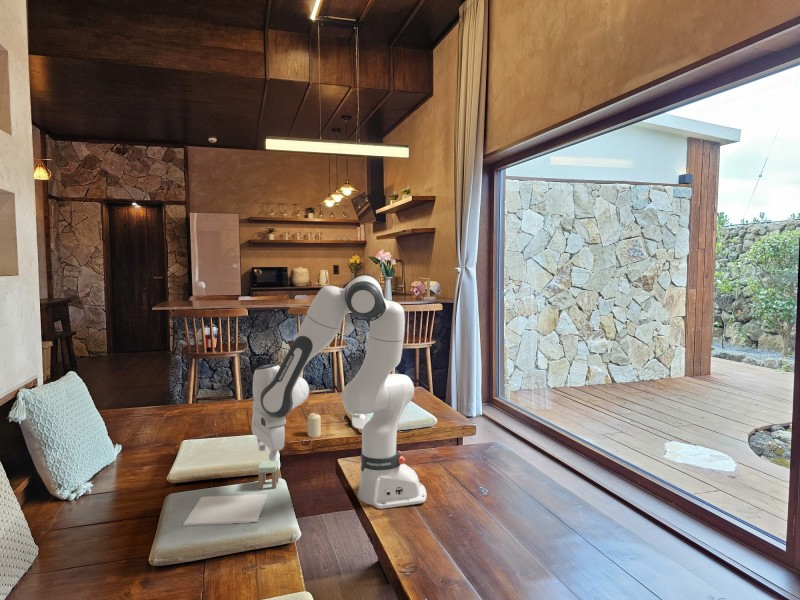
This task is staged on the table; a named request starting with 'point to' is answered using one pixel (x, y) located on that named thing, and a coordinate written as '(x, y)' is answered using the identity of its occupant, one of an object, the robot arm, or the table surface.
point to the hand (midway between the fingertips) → (266, 455)
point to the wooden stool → (268, 467)
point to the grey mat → (226, 510)
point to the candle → (314, 425)
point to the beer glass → (359, 420)
